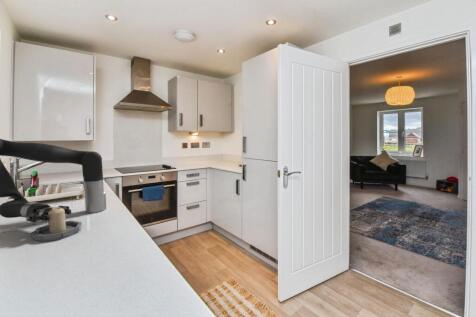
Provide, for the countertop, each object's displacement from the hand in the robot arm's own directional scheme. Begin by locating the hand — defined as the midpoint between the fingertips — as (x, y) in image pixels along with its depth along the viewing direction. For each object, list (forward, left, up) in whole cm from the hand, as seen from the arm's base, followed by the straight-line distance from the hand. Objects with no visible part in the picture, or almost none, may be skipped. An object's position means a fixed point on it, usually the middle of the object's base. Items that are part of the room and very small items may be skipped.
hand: (59, 215), depth 98 cm
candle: (0, -2, -7) cm, 8 cm away
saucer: (0, -2, -8) cm, 8 cm away
